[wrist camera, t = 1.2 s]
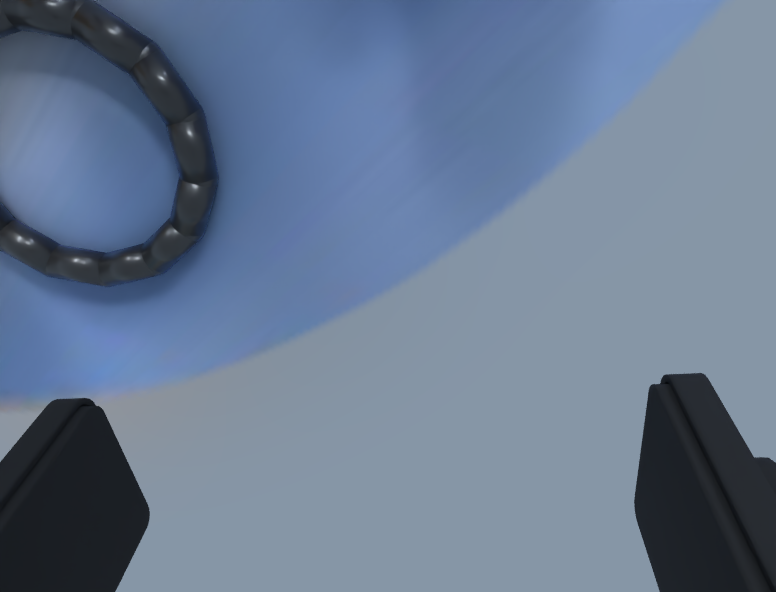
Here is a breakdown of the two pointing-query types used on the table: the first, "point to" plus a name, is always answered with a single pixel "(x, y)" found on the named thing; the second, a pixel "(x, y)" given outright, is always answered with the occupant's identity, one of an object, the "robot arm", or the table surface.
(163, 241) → the beaded ring
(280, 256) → the table surface
